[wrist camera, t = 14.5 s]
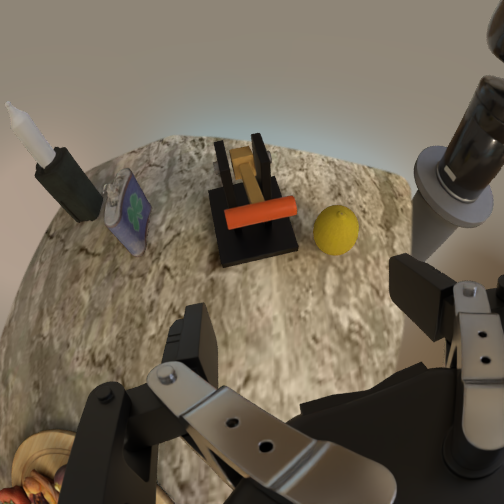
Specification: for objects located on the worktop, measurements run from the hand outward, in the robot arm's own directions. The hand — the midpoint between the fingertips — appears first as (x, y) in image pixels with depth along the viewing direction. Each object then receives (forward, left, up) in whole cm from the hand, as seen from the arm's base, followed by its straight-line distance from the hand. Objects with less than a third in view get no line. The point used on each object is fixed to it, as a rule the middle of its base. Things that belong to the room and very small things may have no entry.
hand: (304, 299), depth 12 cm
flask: (+16, -22, -24) cm, 36 cm away
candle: (+26, -29, -24) cm, 45 cm away
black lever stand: (0, -19, -24) cm, 30 cm away
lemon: (-9, -12, -24) cm, 29 cm away
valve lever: (0, -14, -11) cm, 18 cm away
